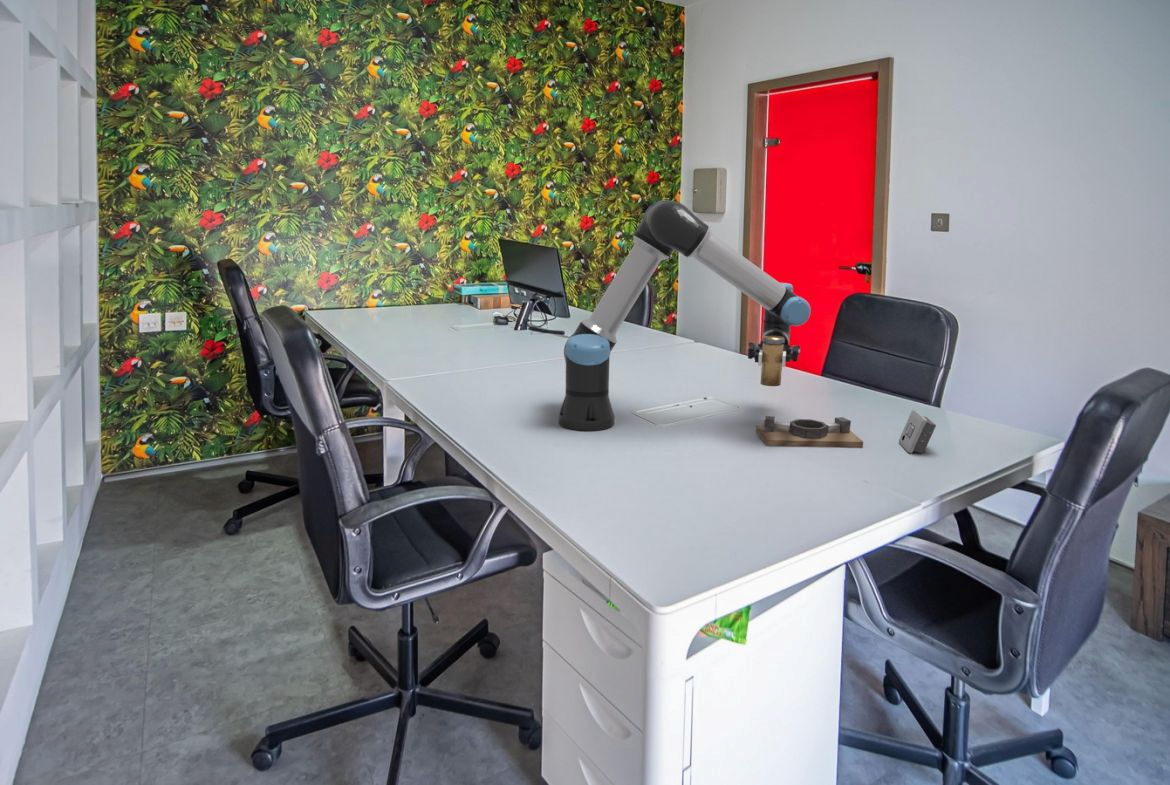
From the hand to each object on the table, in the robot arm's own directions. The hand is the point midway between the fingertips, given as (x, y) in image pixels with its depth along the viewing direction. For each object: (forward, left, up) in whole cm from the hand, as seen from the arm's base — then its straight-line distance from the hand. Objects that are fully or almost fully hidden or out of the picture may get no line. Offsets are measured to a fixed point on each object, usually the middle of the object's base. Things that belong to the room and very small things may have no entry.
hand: (771, 360), depth 190 cm
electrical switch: (+31, +20, -22) cm, 43 cm away
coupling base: (+7, +11, -21) cm, 25 cm away
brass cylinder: (-2, +5, -7) cm, 9 cm away
